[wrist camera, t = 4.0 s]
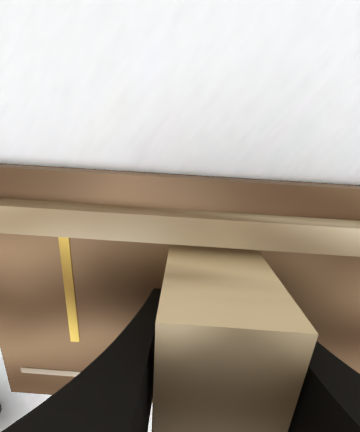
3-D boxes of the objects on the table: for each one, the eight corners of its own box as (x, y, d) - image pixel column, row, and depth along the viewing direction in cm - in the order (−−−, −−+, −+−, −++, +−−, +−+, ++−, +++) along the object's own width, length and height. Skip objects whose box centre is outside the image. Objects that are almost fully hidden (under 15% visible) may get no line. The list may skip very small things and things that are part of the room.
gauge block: (228, 393, 13) (253, 538, 8) (163, 388, 13) (148, 528, 8) (255, 246, 10) (318, 334, 5) (170, 240, 10) (155, 321, 5)
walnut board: (345, 392, 14) (379, 444, 12) (28, 368, 15) (-6, 414, 12) (425, 189, 10) (504, 201, 8) (-14, 162, 11) (-78, 166, 8)
